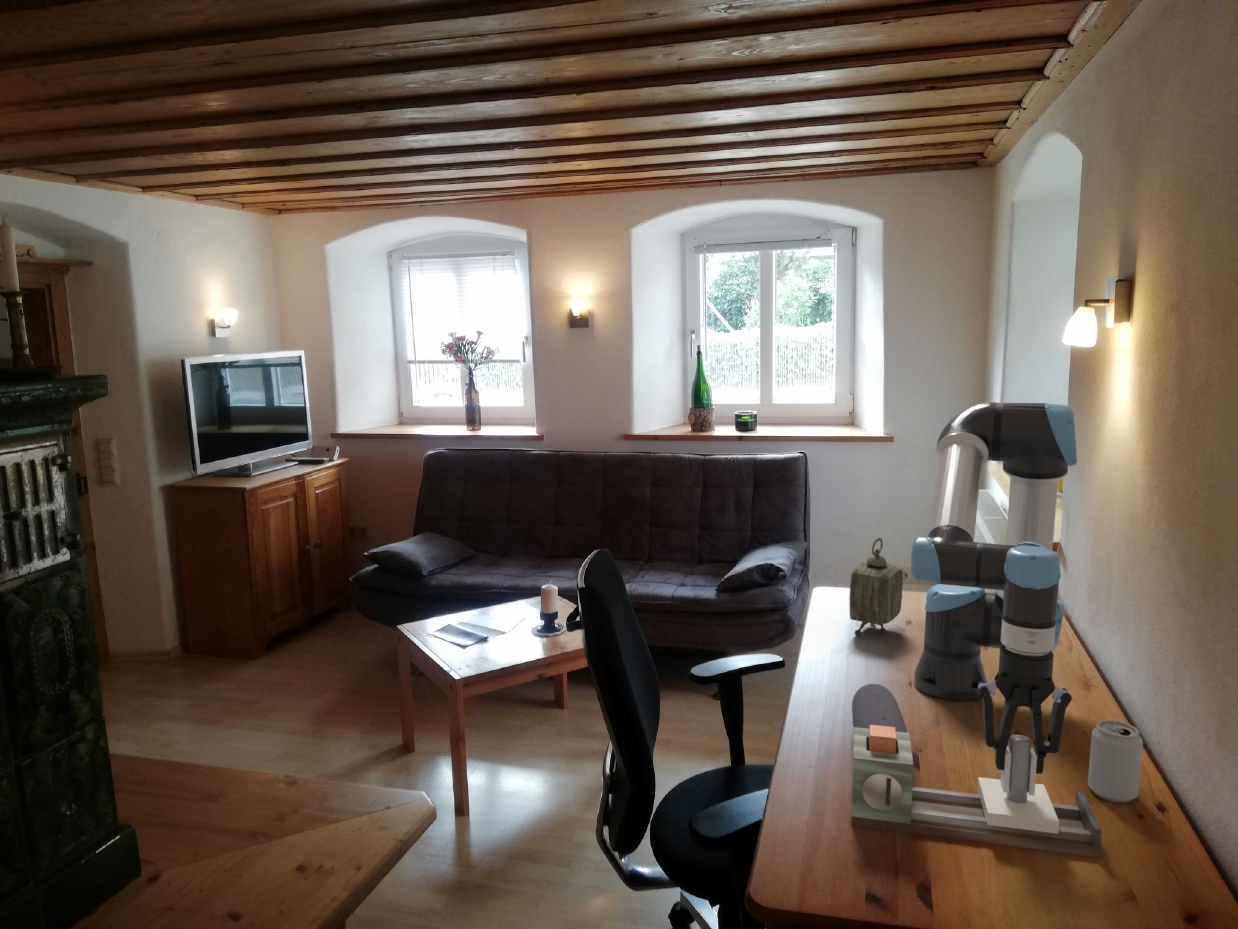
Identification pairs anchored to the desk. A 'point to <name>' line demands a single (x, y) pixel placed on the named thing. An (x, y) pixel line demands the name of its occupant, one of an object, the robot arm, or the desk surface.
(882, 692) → the bluetooth speaker
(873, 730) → the button
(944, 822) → the rail bed
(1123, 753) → the can
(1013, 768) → the carriage
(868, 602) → the tabletop clock
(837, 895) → the desk surface
